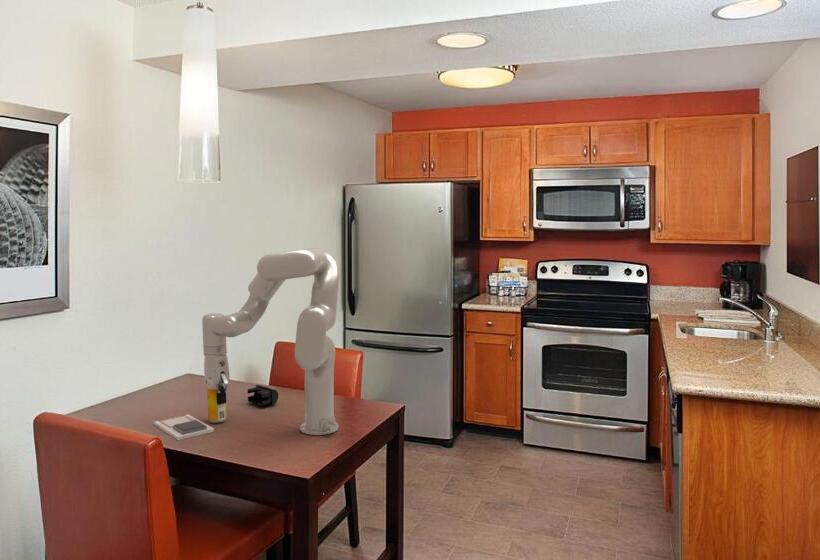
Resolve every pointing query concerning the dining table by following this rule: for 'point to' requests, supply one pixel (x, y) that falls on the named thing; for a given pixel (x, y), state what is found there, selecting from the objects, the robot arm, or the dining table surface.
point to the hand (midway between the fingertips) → (217, 401)
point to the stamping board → (183, 427)
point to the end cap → (262, 397)
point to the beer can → (215, 404)
